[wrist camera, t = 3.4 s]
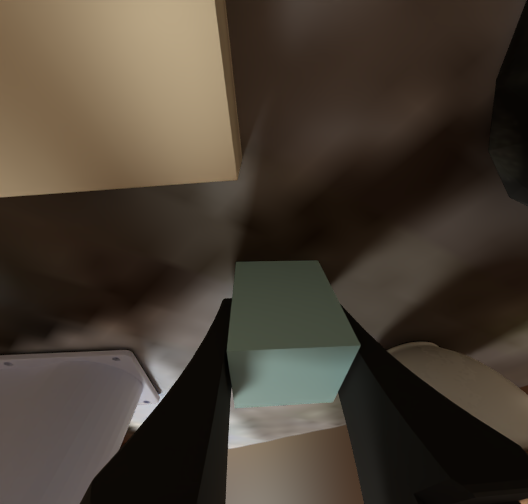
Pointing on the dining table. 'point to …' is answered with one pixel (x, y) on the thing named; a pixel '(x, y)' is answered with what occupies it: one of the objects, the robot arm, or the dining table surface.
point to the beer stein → (512, 116)
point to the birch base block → (115, 95)
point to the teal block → (286, 335)
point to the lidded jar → (470, 387)
